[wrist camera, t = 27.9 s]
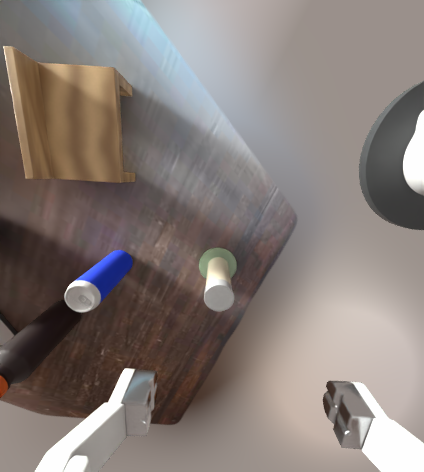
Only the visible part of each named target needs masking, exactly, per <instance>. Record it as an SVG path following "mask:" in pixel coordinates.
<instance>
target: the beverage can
mask: <svg viewBox="0 0 424 472" xmlns="http://www.w3.org/2000/svg"><path fill="white" fill-rule="evenodd" d="M132 265H133V261H132V258H131V256H130V255H129V254H128V253H127V252H125V251H122V250H116V251H114V252H112V253H111V254H109V255H108V256H107V257H105V258H104V259H103V260H101V261H100V262H99V263H98V264H96V265H95V266H94V267H92V268H91V269H90V270H88V271H87V272H86V273H84V274H83V275H82V276H81V277H79V278H78V279H77V280H75V281H74V282H73V283H71V284H70V285H69V287H68V289H67V290H66V292H65V301H66V303H67V305H68V306H69V307H70V308H71V309H72V310H74V311H76V312H81V313H83V312H88V311H90V310H92V309H94V308H96V307H97V306H98V305H99V304H100V303H101V302H102V301H103V299H104V298H105V297H106V296H107V295H108V294H109V293H110V292H111V290H112V289H113V288H114V287H115V286H116V285H117V284H118V283H119V281H120V280H121V279H122V278H123V277H124V276H125V275H126V274H127V272H128V271H129V270H130V269H131V268H132Z"/></svg>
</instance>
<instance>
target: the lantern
mask: <svg viewBox="0 0 424 472" xmlns="http://www.w3.org/2000/svg"><path fill="white" fill-rule="evenodd" d="M16 334H17V331H16V330H15V329H14V328H13V327H12V326H11V325H10V323H9V322H8V321H7V320H6V319H5V318H4V317H3V315H2V314H1V313H0V347H1V346H3V345H4V344H5V343H6V342H8V341H9V340H10V339H11V338H13V337H14V336H15V335H16Z"/></svg>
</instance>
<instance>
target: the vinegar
mask: <svg viewBox="0 0 424 472" xmlns="http://www.w3.org/2000/svg"><path fill="white" fill-rule="evenodd" d="M81 316H82V315H81V312H76V311H74V310H72V309H71V308H70V307H69V306H68V305H67V303H66V301H65V300H61V301H58V302H56V303H54V304H53V305H52V306H51V307H49V308H48V309H47V310H46V311H45V312H43V313H42V314H41V315H40V316H38V317H37V318H36V319H35V320H33V321H32V322H31V323H30V324H29V325H27V326H26V327H25V328H24V329H22V330H21V331H20V332H19V333H17V334H16V335H15V336H14V337H13V338H11V339H10V340H9V341H8V342H6V343H5V344H4V345H3V346H1V347H0V398H1V397H2V396H3V395H4V394H5V393H6V391H7V390H8V389H9V388H10V385H11V384H15V383H19V382H22V381H24V380H25V379H27V378H28V377H29V376H30V375H31V373H32V372H33V371H34V370H35V369H36V368H37V367H38V366H39V365H40V364H41V363H42V361H43V360H44V359H45V358H46V357H47V356H48V355H49V354H50V353H51V352H52V351H53V349H54V348H55V347H56V346H57V345H58V344H59V343H60V342H61V341H62V340H63V339H64V337H65V336H66V335H67V334H68V333H69V332H70V331H71V330H72V329H73V328H74V326H75V325H76V324H77V323H78V322H79V321H80V319H81Z"/></svg>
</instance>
